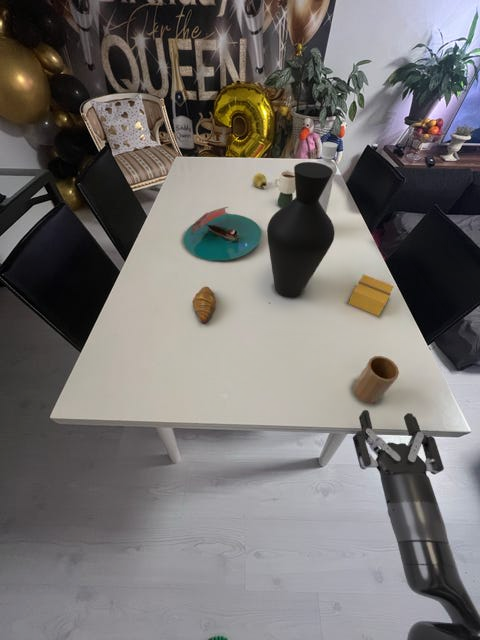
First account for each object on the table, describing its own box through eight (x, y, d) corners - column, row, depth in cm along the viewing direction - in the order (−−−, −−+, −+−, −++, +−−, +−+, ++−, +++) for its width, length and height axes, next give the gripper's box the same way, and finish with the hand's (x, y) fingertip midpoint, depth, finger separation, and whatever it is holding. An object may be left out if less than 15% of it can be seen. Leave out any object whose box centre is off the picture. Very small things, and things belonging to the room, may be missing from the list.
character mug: (297, 203, 127) (303, 171, 118) (297, 211, 123) (303, 179, 113) (272, 200, 128) (275, 169, 118) (270, 208, 123) (274, 176, 114)
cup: (383, 388, 69) (401, 364, 62) (375, 408, 66) (394, 386, 58) (358, 375, 71) (373, 351, 64) (349, 394, 68) (364, 371, 60)
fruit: (261, 193, 132) (247, 182, 136) (270, 193, 136) (256, 182, 140) (266, 180, 129) (252, 169, 133) (275, 181, 132) (261, 170, 136)
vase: (328, 291, 91) (369, 173, 65) (290, 317, 83) (319, 195, 57) (286, 263, 99) (308, 149, 73) (249, 285, 91) (257, 166, 65)
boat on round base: (215, 210, 121) (212, 183, 112) (275, 230, 110) (276, 201, 101) (168, 247, 107) (160, 219, 98) (232, 274, 96) (229, 245, 87)
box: (387, 298, 90) (394, 285, 86) (378, 316, 85) (386, 303, 81) (357, 286, 93) (363, 273, 89) (347, 303, 88) (353, 290, 84)
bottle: (310, 223, 117) (330, 137, 94) (326, 234, 112) (351, 147, 89) (292, 229, 113) (308, 142, 91) (308, 241, 108) (329, 152, 86)
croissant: (194, 290, 89) (193, 278, 85) (217, 291, 89) (216, 278, 86) (190, 325, 80) (188, 312, 76) (215, 325, 80) (215, 312, 77)
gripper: (471, 507, 45) (431, 407, 56) (377, 500, 45) (355, 402, 56) (444, 515, 51) (413, 423, 62) (360, 509, 51) (344, 418, 62)
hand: (385, 413), depth 59 cm, fingers open, 8 cm apart
